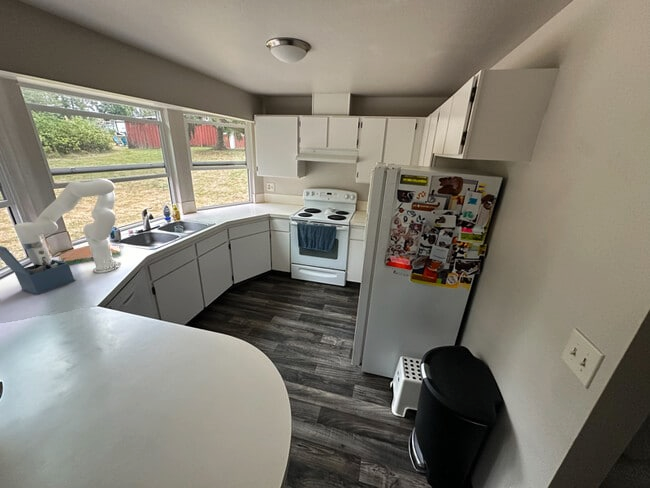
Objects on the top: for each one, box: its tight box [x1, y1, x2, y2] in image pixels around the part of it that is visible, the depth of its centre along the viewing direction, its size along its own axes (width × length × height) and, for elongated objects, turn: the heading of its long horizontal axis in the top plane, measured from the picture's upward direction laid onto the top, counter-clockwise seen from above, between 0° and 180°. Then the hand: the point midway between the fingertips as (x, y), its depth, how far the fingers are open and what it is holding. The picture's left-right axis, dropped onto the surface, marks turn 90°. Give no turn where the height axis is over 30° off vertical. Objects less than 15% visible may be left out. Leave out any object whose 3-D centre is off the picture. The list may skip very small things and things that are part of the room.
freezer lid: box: [0, 245, 30, 275], centre depth 128 cm, size 17×15×5 cm
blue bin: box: [13, 259, 76, 295], centre depth 144 cm, size 17×15×12 cm
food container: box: [27, 262, 58, 274], centre depth 143 cm, size 12×6×10 cm, turn 138°
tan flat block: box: [58, 243, 121, 266], centre depth 184 cm, size 23×33×8 cm
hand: (45, 273), depth 144 cm, fingers closed on food container, 7 cm apart
